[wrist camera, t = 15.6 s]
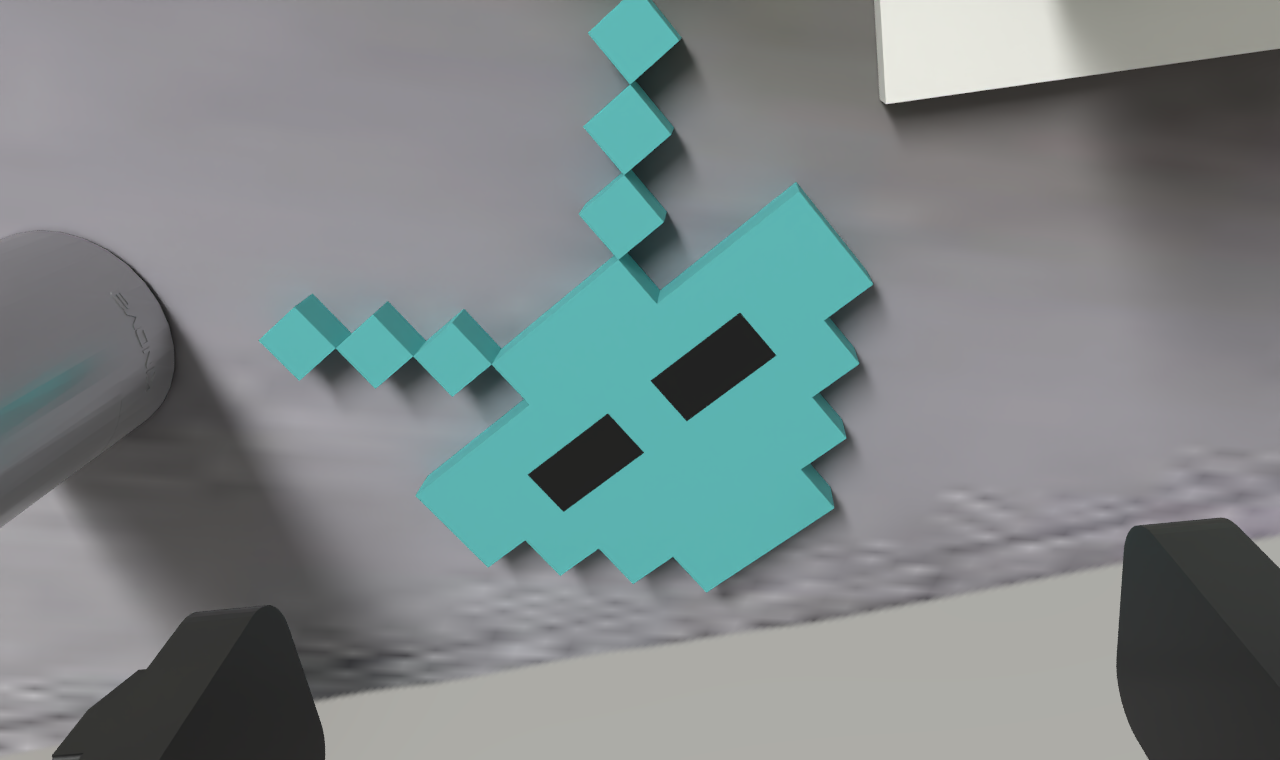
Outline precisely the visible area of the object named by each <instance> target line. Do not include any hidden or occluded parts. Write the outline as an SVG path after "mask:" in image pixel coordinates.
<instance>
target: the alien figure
mask: <svg viewBox="0 0 1280 760" xmlns="http://www.w3.org/2000/svg"><path fill="white" fill-rule="evenodd" d="M588 34H589V35H590V36H591V37H592V39H593V40H594V41H595V42H596V44H597V45H598V46H599V47H600V48H601V50H602V51H603V52H604V53H605V55H606V56H607V57H608V58H609V59H610V61H611V62H612V63H613V64H614V65H615V67H616V68H617V69H618V70H619V72H620V73H621V74H622V75H623V76H624V78H625V79H626V80H627V81H628V83H629V84H630V85H629V86H628V87H627V88H625V89H624V90H623V91H622V92H621V93H620V94H619V95H618V96H617V97H615V98H614V99H613V100H612V101H611V102H610V103H609V104H608V105H607V106H605V107H604V108H603V109H602V110H601V111H600V112H599V113H598V114H596V115H595V116H594V117H593V118H592V119H591V120H590V121H589V122H588V123H587V124H586V125H584V126H583V127H584V128H585V130H586V131H587V132H588V133H589V134H590V136H591V137H592V138H593V139H594V140H595V141H596V143H597V144H598V145H599V146H600V147H601V149H602V150H603V151H604V152H605V153H606V154H607V156H608V157H609V158H610V159H611V160H612V162H613V163H614V164H615V165H616V166H617V167H618V169H619V170H620V171H621V172H622V173H621V174H620V175H619V176H618V177H616V178H615V179H614V180H613V181H612V182H611V183H609V184H608V185H607V186H606V187H605V188H604V189H603V190H601V191H600V192H599V193H598V194H597V195H596V196H594V197H593V198H592V199H591V200H590V201H589V202H587V203H586V204H585V206H584V207H583V209H582V210H581V212H580V213H579V215H580V216H581V218H582V219H583V220H584V221H585V222H586V223H587V224H588V226H589V227H590V228H591V229H592V230H593V231H594V232H595V234H596V235H597V236H598V237H599V238H600V239H601V240H602V242H603V243H604V244H605V245H606V246H607V247H608V249H609V250H610V251H611V252H612V253H613V254H614V256H613V257H612V258H611V259H609V260H608V261H607V262H606V263H605V264H603V265H602V266H601V267H600V268H598V269H597V270H596V271H595V272H594V273H592V274H591V275H590V276H589V277H588V278H586V279H585V280H584V281H583V282H582V283H580V284H579V285H578V286H577V287H576V288H574V289H573V290H572V291H571V292H570V293H568V294H567V295H566V296H565V297H563V298H562V299H561V300H560V301H559V302H557V303H556V304H555V305H554V306H553V307H551V308H550V309H549V310H548V311H547V312H545V313H544V314H543V315H542V316H541V317H539V318H538V319H537V320H536V321H535V322H533V323H532V324H531V325H530V326H529V327H527V328H526V329H525V330H524V331H522V332H521V333H520V334H519V335H518V336H516V337H515V338H514V339H513V340H512V341H510V342H509V343H508V344H507V345H506V346H504V347H503V348H502V349H501V348H500V347H499V346H498V345H497V344H496V343H495V341H494V340H493V339H492V338H491V337H490V336H489V335H488V334H487V333H486V332H485V331H484V330H483V329H482V328H481V326H480V325H479V324H478V323H477V322H476V321H475V320H474V319H473V318H472V317H471V316H470V315H469V314H468V313H467V311H466V310H465V309H463V310H462V311H461V312H460V313H458V314H457V315H456V316H455V317H454V318H453V319H452V320H450V321H449V322H448V323H447V324H446V325H445V326H443V327H442V328H441V329H440V330H439V331H438V332H436V333H435V334H434V335H433V336H432V337H431V338H429V339H428V340H427V341H426V340H425V339H424V338H423V337H422V336H421V335H420V334H419V333H418V332H417V331H416V330H415V329H414V328H413V327H412V326H411V325H410V324H409V323H408V322H407V321H406V320H405V319H404V317H403V316H402V315H401V314H400V313H399V312H398V311H397V310H396V309H395V308H394V307H393V306H392V305H391V304H390V303H389V302H386V303H385V304H384V305H383V306H382V307H381V308H380V309H379V310H378V311H376V312H375V313H374V314H373V315H372V316H371V317H370V318H369V319H367V320H366V321H365V322H364V323H363V324H362V325H361V326H360V327H359V328H357V329H356V330H355V331H354V332H353V333H352V334H351V333H350V331H349V330H348V329H347V328H346V327H345V326H344V325H343V324H342V323H341V322H340V321H339V320H338V319H337V318H336V317H335V316H334V315H333V314H332V313H331V312H330V311H329V310H328V309H327V308H326V307H325V306H324V305H323V304H322V303H321V302H320V301H319V300H318V299H317V298H316V297H315V296H314V295H313V294H311V295H310V296H309V297H307V298H306V299H305V300H303V301H302V302H301V303H299V304H298V305H296V306H295V307H294V308H293V309H292V310H291V311H290V312H289V313H287V314H286V315H285V316H284V317H283V318H282V319H281V320H280V321H279V322H278V323H277V324H276V325H275V326H274V327H272V328H271V329H270V330H269V331H268V332H267V333H266V334H265V335H264V336H263V337H262V338H261V339H260V340H259V341H260V342H261V343H262V344H263V345H264V346H265V347H266V348H267V349H268V350H269V351H270V352H271V353H272V354H273V355H274V356H275V357H276V358H277V359H278V360H279V361H280V362H281V363H282V364H283V365H284V366H285V367H286V368H287V369H288V370H289V371H290V372H291V373H292V374H293V375H294V376H295V377H296V378H297V379H298V380H299V381H300V380H301V379H302V378H303V377H304V376H305V375H306V374H307V373H309V372H310V371H311V370H312V369H313V368H314V367H315V366H316V365H318V364H319V363H320V362H321V361H322V360H323V359H324V358H325V357H326V356H328V355H329V354H330V353H331V352H332V351H333V350H334V349H335V348H336V349H337V350H338V351H339V352H340V353H341V354H342V355H343V356H344V357H345V358H346V359H347V360H348V362H349V363H350V364H351V365H352V366H353V367H354V368H355V369H356V370H357V371H358V372H359V373H360V374H361V375H362V376H363V377H364V378H365V379H366V380H367V381H368V382H369V383H370V384H371V385H372V386H373V387H374V388H375V389H376V388H377V387H378V386H379V385H380V384H382V383H383V382H384V381H385V380H386V379H387V378H389V377H390V376H391V375H392V374H393V373H394V372H396V371H397V370H398V369H399V368H400V367H401V366H403V365H404V364H405V363H406V362H407V361H408V360H410V359H411V358H412V357H414V358H415V359H416V360H417V361H418V362H419V363H420V364H421V365H422V366H423V367H424V368H425V369H426V370H427V371H428V372H429V373H430V374H431V375H432V376H433V377H434V378H435V379H436V381H437V382H438V383H439V384H440V385H441V386H442V387H443V388H444V389H445V390H446V391H447V392H448V393H449V394H450V395H451V396H452V397H453V396H454V395H455V394H456V393H458V392H459V391H460V390H461V389H462V388H464V387H465V386H466V385H467V384H468V383H470V382H471V381H472V380H473V379H475V378H476V377H477V376H478V375H479V374H481V373H482V372H483V371H484V370H485V369H487V368H488V367H489V366H490V365H493V366H494V368H495V369H496V370H497V371H498V372H499V373H500V374H501V375H502V376H503V377H504V378H505V379H506V380H507V381H508V382H509V383H510V385H511V386H512V387H513V388H514V389H515V390H516V391H517V392H518V393H519V394H520V395H521V396H522V397H523V398H524V400H522V401H521V402H520V403H519V404H517V405H516V406H515V407H514V408H512V409H511V410H510V411H509V412H507V413H506V414H505V415H504V416H502V417H501V418H500V419H499V420H497V421H496V422H495V423H494V424H492V425H491V426H490V427H489V428H487V429H486V430H485V431H484V432H482V433H481V434H480V435H479V436H477V437H476V438H475V439H473V440H472V441H471V442H470V443H468V444H467V445H466V446H465V447H463V448H462V449H461V450H460V451H458V452H457V453H456V454H455V455H453V456H452V457H451V458H450V459H448V460H447V461H446V462H445V463H443V464H442V465H441V466H440V467H438V468H437V469H436V470H435V471H433V472H432V473H431V474H430V475H428V476H427V478H426V480H425V481H424V483H423V484H422V486H421V488H420V489H419V491H418V492H417V494H416V497H417V498H418V499H419V500H420V501H421V502H422V503H423V504H424V505H425V506H426V507H427V508H428V509H429V510H430V511H431V512H432V513H433V514H434V515H435V516H437V517H438V518H439V519H440V520H441V521H442V522H443V523H444V524H445V525H446V526H447V527H448V528H449V529H450V530H451V531H452V532H453V533H454V534H455V535H456V536H457V537H458V538H459V539H460V540H461V541H462V542H463V543H464V544H465V545H466V546H467V547H468V548H469V549H470V550H471V551H472V552H473V553H474V554H475V555H476V556H477V557H478V558H479V559H480V560H481V561H482V562H483V563H484V564H485V565H486V566H487V567H490V566H491V565H492V564H494V563H495V562H496V561H498V560H499V559H500V558H502V557H503V556H505V555H506V554H507V553H509V552H510V551H511V550H513V549H514V548H515V547H517V546H518V545H519V544H521V543H522V542H524V541H526V542H527V543H528V544H529V545H530V546H531V547H532V548H533V549H534V550H535V551H536V552H537V553H538V554H539V555H540V556H541V557H542V558H543V559H544V560H545V561H546V562H547V563H548V564H549V565H550V566H551V567H552V568H553V569H554V570H555V571H556V572H557V573H558V574H559V575H560V576H561V575H562V574H564V573H565V572H566V571H568V570H569V569H571V568H572V567H573V566H575V565H576V564H578V563H579V562H581V561H582V560H583V559H585V558H586V557H588V556H589V555H590V554H592V553H593V552H595V551H596V550H597V549H600V550H601V551H602V552H603V553H604V555H605V556H606V557H607V558H608V559H609V560H610V561H611V562H612V563H613V564H614V565H615V566H616V567H617V568H618V569H619V570H620V571H621V572H622V573H623V574H624V575H625V576H626V577H627V578H628V579H629V580H630V581H631V582H632V584H634V583H635V582H637V581H638V580H640V579H641V578H643V577H644V576H646V575H647V574H649V573H650V572H652V571H653V570H655V569H656V568H657V567H659V566H660V565H662V564H663V563H665V562H666V561H668V560H669V559H671V558H672V557H673V558H674V559H675V560H676V561H677V562H678V563H679V564H680V565H681V566H682V567H683V568H684V569H685V570H686V571H687V572H688V573H689V574H690V576H691V577H692V578H693V579H694V580H695V581H696V582H697V583H698V584H699V585H700V586H701V587H702V588H703V589H704V590H705V591H706V593H707V592H708V591H710V590H711V589H713V588H714V587H716V586H717V585H719V584H720V583H722V582H723V581H725V580H726V579H728V578H729V577H731V576H732V575H734V574H735V573H737V572H738V571H740V570H741V569H743V568H744V567H746V566H747V565H749V564H750V563H752V562H754V561H755V560H757V559H758V558H760V557H761V556H763V555H764V554H766V553H767V552H769V551H770V550H772V549H773V548H775V547H776V546H778V545H779V544H781V543H782V542H784V541H785V540H787V539H788V538H790V537H791V536H793V535H794V534H796V533H797V532H799V531H801V530H802V529H804V528H805V527H807V526H808V525H810V524H811V523H813V522H814V521H816V520H817V519H819V518H820V517H822V516H823V515H825V514H826V513H828V512H829V511H831V510H832V509H834V503H833V498H832V493H831V488H830V486H829V485H828V484H827V483H826V481H825V480H824V479H823V478H822V477H821V476H820V474H819V473H818V472H817V471H816V470H815V469H814V468H813V466H812V465H811V464H810V463H811V462H813V461H814V460H815V459H817V458H818V457H820V456H821V455H823V454H824V453H826V452H827V451H829V450H830V449H832V448H833V447H835V446H836V445H837V444H839V443H840V442H842V441H843V440H845V439H846V434H845V430H844V426H843V422H842V419H841V418H840V417H839V415H838V414H837V413H836V412H835V411H834V409H833V408H832V407H831V406H830V405H829V404H828V402H827V401H826V400H825V399H824V398H823V396H822V395H821V394H820V393H819V392H820V391H822V390H823V389H825V388H826V387H827V386H829V385H830V384H832V383H833V382H835V381H836V380H837V379H839V378H840V377H842V376H843V375H844V374H846V373H847V372H849V371H850V370H851V369H853V368H854V367H856V366H857V365H859V361H858V358H857V355H856V352H855V349H854V347H853V346H852V344H851V343H850V342H849V341H848V340H847V338H846V337H845V336H844V335H843V333H842V332H841V331H840V330H839V329H838V327H837V326H836V325H835V324H834V323H833V321H832V320H831V319H830V318H829V317H830V316H831V315H832V314H834V313H835V312H836V311H838V310H839V309H840V308H842V307H843V306H845V305H846V304H847V303H849V302H850V301H851V300H853V299H854V298H855V297H857V296H858V295H859V294H861V293H862V292H864V291H865V290H866V289H868V288H869V287H870V286H872V285H873V283H872V281H871V279H870V276H869V274H868V272H867V271H866V269H865V268H864V267H863V265H862V264H861V263H860V262H859V260H858V259H857V258H856V257H855V255H854V254H853V253H852V252H851V250H850V249H849V248H848V247H847V245H846V244H845V243H844V242H843V240H842V239H841V238H840V237H839V235H838V234H837V233H836V231H835V230H834V229H833V228H832V226H831V225H830V224H829V223H828V221H827V220H826V219H825V218H824V216H823V215H822V214H821V213H820V211H819V210H818V209H817V208H816V206H815V205H814V204H813V203H812V201H811V200H810V199H809V197H808V196H807V195H806V194H805V192H804V191H803V190H802V189H801V187H800V186H799V185H798V184H797V182H795V183H794V184H793V185H792V186H790V187H789V188H788V189H787V190H785V191H784V192H783V193H782V194H780V195H779V196H778V197H777V198H775V199H774V200H773V201H772V202H770V203H769V204H768V205H767V206H765V207H764V208H763V209H762V210H760V211H759V212H758V213H757V214H755V215H754V216H753V217H752V218H750V219H749V220H748V221H747V222H745V223H744V224H743V225H742V226H740V227H739V228H738V229H737V230H735V231H734V232H733V233H732V234H730V235H729V236H728V237H727V238H725V239H724V240H723V241H721V242H720V243H719V244H718V245H716V246H715V247H714V248H713V249H711V250H710V251H709V252H708V253H706V254H705V255H704V256H703V257H701V258H700V259H699V260H698V261H696V262H695V263H694V264H693V265H691V266H690V267H689V268H688V269H686V270H685V271H684V272H683V273H681V274H680V275H679V276H678V277H676V278H675V279H674V280H673V281H671V282H670V283H669V284H668V285H666V286H665V287H664V288H663V289H661V290H659V289H658V287H657V286H656V285H655V284H654V283H653V282H652V280H651V279H650V278H649V277H648V276H647V275H646V274H645V272H644V271H643V270H642V269H641V268H640V267H639V265H638V264H637V263H636V262H635V261H634V260H633V259H632V257H631V256H630V255H629V254H628V253H627V252H628V251H630V250H631V249H632V248H633V247H634V246H636V245H637V244H638V243H639V242H641V241H642V240H643V239H644V238H645V237H647V236H648V235H649V234H650V233H651V232H653V231H654V230H655V229H656V228H658V227H659V226H660V225H661V224H662V223H664V220H665V217H666V213H667V211H666V210H665V209H664V208H663V207H662V205H661V204H660V203H659V202H658V201H657V199H656V198H655V197H654V196H653V195H652V193H651V192H650V191H649V190H648V189H647V188H646V186H645V185H644V184H643V183H642V182H641V180H640V179H639V178H638V177H637V176H636V175H635V173H634V172H633V171H632V170H631V169H632V168H633V167H634V166H635V165H637V164H638V163H639V162H640V161H641V160H642V159H644V158H645V157H646V156H647V155H648V154H649V153H651V152H652V151H653V150H654V149H655V148H656V147H658V146H659V145H660V144H661V143H662V142H663V141H664V140H666V139H667V138H668V137H669V136H670V135H671V134H672V132H673V129H674V127H673V126H672V125H671V123H670V122H669V121H668V120H667V119H666V117H665V116H664V115H663V114H662V112H661V111H660V110H659V109H658V108H657V106H656V105H655V104H654V103H653V101H652V100H651V99H650V98H649V97H648V95H647V94H646V93H645V92H644V90H643V89H642V88H641V87H640V86H639V84H638V83H637V82H636V81H635V80H636V79H637V78H638V77H639V76H640V75H641V74H643V73H644V72H645V71H646V70H647V69H648V68H649V67H650V66H652V65H653V64H654V63H655V62H656V61H657V60H658V59H659V58H660V57H662V56H663V55H664V54H665V53H666V52H667V51H668V50H669V49H671V48H672V47H673V46H674V45H675V44H676V43H677V42H678V41H679V40H680V39H681V36H680V35H679V34H678V33H677V31H676V30H675V29H674V28H673V26H672V25H671V24H670V23H669V21H668V20H667V19H666V18H665V16H664V15H663V14H662V12H661V11H660V10H659V9H658V7H657V6H656V5H655V4H654V2H653V1H652V0H623V1H622V2H621V3H619V4H618V5H617V6H616V7H615V8H614V9H613V10H612V11H611V12H610V13H609V14H608V15H607V16H606V17H604V18H603V19H602V20H601V21H600V22H599V23H598V24H597V25H596V26H595V27H594V28H593V29H592V30H591V31H589V32H588Z"/></svg>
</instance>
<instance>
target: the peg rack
mask: <svg viewBox="0 0 1280 760" xmlns="http://www.w3.org/2000/svg"><path fill="white" fill-rule="evenodd" d="M874 8H875V25H876V43H877V60H878V77H879V95H880V100H881V101H882V102H884V103H885V104H891V103H898V102H905V101H912V100H919V99H926V98H933V97H940V96H947V95H954V94H962V93H969V92H976V91H983V90H990V89H997V88H1004V87H1011V86H1018V85H1025V84H1032V83H1039V82H1047V81H1054V80H1061V79H1068V78H1075V77H1082V76H1089V75H1096V74H1103V73H1110V72H1117V71H1124V70H1131V69H1139V68H1146V67H1153V66H1160V65H1167V64H1174V63H1181V62H1188V61H1195V60H1202V59H1209V58H1216V57H1223V56H1231V55H1238V54H1245V53H1252V52H1259V51H1266V50H1273V49H1280V0H874Z"/></svg>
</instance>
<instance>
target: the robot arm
mask: <svg viewBox="0 0 1280 760" xmlns="http://www.w3.org/2000/svg"><path fill="white" fill-rule="evenodd" d="M173 373H174V345H173V340H172V336H171V332H170V328H169V324H168V322H167V320H166V318H165V315H164V313H163V311H162V309H161V307H160V304H159V303H158V301H157V300H156V298H155V297H154V295H153V294H152V292H151V291H150V289H149V288H148V287H147V285H146V284H145V282H144V281H143V280H142V279H141V278H140V277H139V276H138V275H137V274H136V273H135V272H134V271H133V270H132V269H131V268H130V267H129V266H128V265H127V264H126V263H124V262H123V261H121V260H120V259H119V258H117V257H116V256H115V255H113V254H112V253H110V252H109V251H108V250H106V249H104V248H102V247H100V246H98V245H96V244H94V243H92V242H90V241H88V240H86V239H84V238H80V237H77V236H73V235H70V234H66V233H62V232H53V231H40V230H37V231H31V232H24V233H18V234H14V235H11V236H8V237H6V238H3V239H0V528H1V527H2V526H4V525H5V524H6V523H8V522H9V521H10V520H12V519H13V518H14V517H16V516H17V515H18V514H20V513H21V512H23V511H24V510H25V509H27V508H28V507H29V506H31V505H32V504H33V503H35V502H36V501H37V500H39V499H40V498H41V497H43V496H44V495H45V494H47V493H48V492H49V491H51V490H52V489H54V488H55V487H56V486H58V485H59V484H60V483H62V482H63V481H64V480H66V479H67V478H68V477H70V476H71V475H72V474H74V473H75V472H76V471H78V470H79V469H80V468H82V467H83V466H85V465H86V464H88V463H89V462H90V461H92V460H93V459H94V458H96V457H97V456H98V455H100V454H101V453H103V452H104V451H105V450H107V449H108V448H109V447H111V446H112V445H113V444H115V443H116V442H117V441H119V440H120V439H121V438H123V437H124V436H125V435H127V434H128V433H129V432H131V431H132V430H134V429H135V428H136V427H138V426H139V425H140V424H142V423H143V422H144V421H146V420H147V419H148V418H150V416H151V415H152V414H153V413H154V412H155V411H156V410H157V409H158V408H159V407H160V405H161V404H162V403H163V401H164V399H165V397H166V395H167V393H168V391H169V389H170V386H171V382H172V377H173ZM1116 667H1117V679H1118V686H1119V692H1120V696H1121V701H1122V704H1123V708H1124V711H1125V714H1126V717H1127V719H1128V722H1129V724H1130V727H1131V729H1132V731H1133V733H1134V735H1135V737H1136V738H1137V740H1138V742H1139V744H1140V745H1141V747H1142V749H1143V750H1144V752H1145V754H1146V755H1147V757H1148V759H1149V760H1280V568H1279V567H1278V566H1277V565H1276V564H1274V562H1273V561H1272V560H1271V559H1270V558H1269V557H1268V556H1267V555H1266V554H1265V553H1264V552H1263V551H1261V549H1260V548H1259V547H1258V546H1257V545H1256V544H1255V543H1254V542H1253V541H1252V540H1251V539H1250V538H1249V537H1248V536H1247V535H1246V534H1245V533H1244V532H1243V531H1242V530H1241V529H1240V528H1239V527H1238V526H1237V525H1236V524H1234V523H1233V522H1232V521H1230V520H1228V519H1226V518H1212V519H1202V520H1191V521H1181V522H1170V523H1159V524H1149V525H1139V526H1134V527H1133V528H1131V530H1130V531H1129V533H1128V535H1127V537H1126V541H1125V546H1124V557H1123V572H1122V587H1121V602H1120V617H1119V631H1118V646H1117V666H1116ZM52 757H53V759H52V760H325V741H324V734H323V729H322V725H321V722H320V719H319V716H318V713H317V710H316V707H315V704H314V701H313V698H312V695H311V692H310V689H309V686H308V683H307V680H306V677H305V674H304V671H303V668H302V666H301V663H300V660H299V657H298V654H297V651H296V648H295V645H294V642H293V639H292V636H291V633H290V630H289V627H288V625H287V622H286V620H285V618H284V616H283V615H282V613H281V612H280V611H279V610H278V609H277V608H275V607H274V606H270V605H267V606H256V607H245V608H235V609H224V610H214V611H203V612H195V613H193V614H191V615H189V616H188V617H186V618H185V619H184V621H183V622H182V623H181V624H180V625H179V627H178V628H177V629H176V631H175V632H174V633H173V635H172V636H171V637H170V639H169V640H168V641H167V643H166V644H165V645H164V647H163V648H162V649H161V651H160V652H159V653H158V655H157V656H156V657H155V659H154V660H153V661H152V663H151V664H150V665H149V667H148V668H147V669H143V670H138V671H137V672H135V673H134V674H133V675H132V676H130V677H129V678H128V679H127V680H125V681H124V682H123V683H121V684H120V685H119V686H118V687H116V688H115V689H114V690H113V691H111V692H110V693H109V694H108V695H106V696H105V697H104V698H102V699H101V700H100V701H99V702H97V703H96V704H95V705H94V706H92V707H91V708H90V709H89V710H88V711H87V712H86V713H85V714H84V716H83V717H82V718H81V719H80V721H79V722H78V723H77V724H76V726H75V727H74V728H73V730H72V731H71V732H70V733H69V735H68V736H67V737H66V738H65V740H64V741H63V742H62V743H61V745H60V746H59V747H58V748H57V750H56V751H55V752H54V754H53V755H52Z"/></svg>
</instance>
